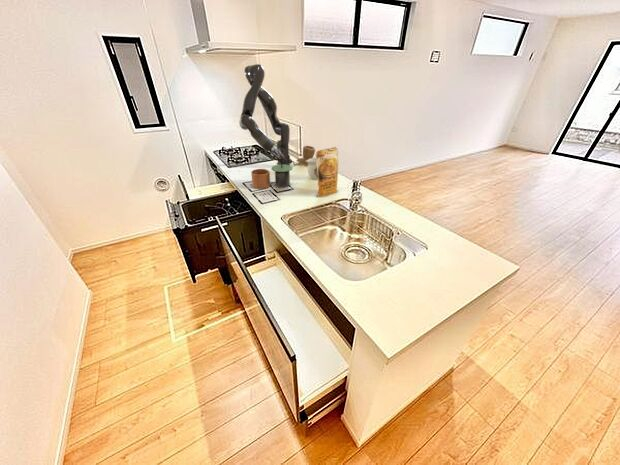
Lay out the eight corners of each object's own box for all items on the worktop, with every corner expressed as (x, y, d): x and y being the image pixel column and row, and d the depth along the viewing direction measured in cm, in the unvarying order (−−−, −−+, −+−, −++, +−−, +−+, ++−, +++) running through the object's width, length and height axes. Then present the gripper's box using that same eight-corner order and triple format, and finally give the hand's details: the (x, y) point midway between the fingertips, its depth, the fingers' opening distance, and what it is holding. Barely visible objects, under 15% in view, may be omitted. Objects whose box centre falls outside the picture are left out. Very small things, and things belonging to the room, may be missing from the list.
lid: (288, 165, 178) (288, 150, 173) (295, 171, 167) (295, 156, 162) (269, 167, 173) (268, 152, 168) (274, 174, 163) (274, 158, 157)
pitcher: (330, 177, 189) (331, 159, 182) (310, 182, 180) (310, 163, 173) (321, 173, 197) (322, 155, 189) (301, 177, 188) (301, 159, 181)
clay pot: (267, 181, 181) (266, 168, 176) (272, 187, 171) (271, 173, 166) (251, 183, 177) (249, 169, 172) (254, 189, 167) (253, 175, 162)
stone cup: (317, 165, 212) (317, 147, 204) (304, 167, 207) (304, 149, 199) (308, 160, 223) (308, 143, 215) (296, 162, 218) (295, 144, 210)
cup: (287, 181, 182) (286, 167, 176) (291, 186, 174) (291, 171, 168) (273, 182, 178) (273, 168, 173) (277, 188, 171) (277, 173, 165)
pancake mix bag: (311, 194, 162) (312, 150, 147) (333, 188, 172) (337, 145, 157) (318, 198, 158) (319, 152, 143) (340, 191, 168) (344, 148, 153)
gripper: (266, 141, 155) (286, 162, 160) (272, 136, 167) (290, 156, 172) (258, 149, 158) (278, 169, 163) (264, 144, 170) (283, 163, 175)
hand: (284, 162), depth 168 cm, fingers closed on lid, 3 cm apart
